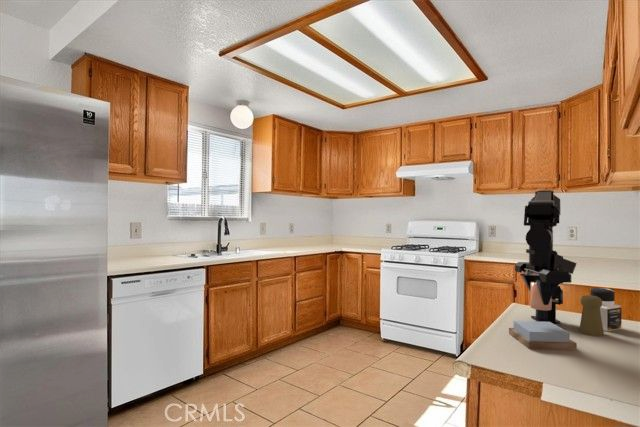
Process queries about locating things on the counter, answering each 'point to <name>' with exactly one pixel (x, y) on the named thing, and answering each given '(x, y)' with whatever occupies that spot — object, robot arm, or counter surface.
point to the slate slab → (541, 331)
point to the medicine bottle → (608, 309)
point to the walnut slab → (543, 343)
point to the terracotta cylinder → (537, 298)
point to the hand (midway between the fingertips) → (540, 302)
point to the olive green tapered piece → (591, 316)
